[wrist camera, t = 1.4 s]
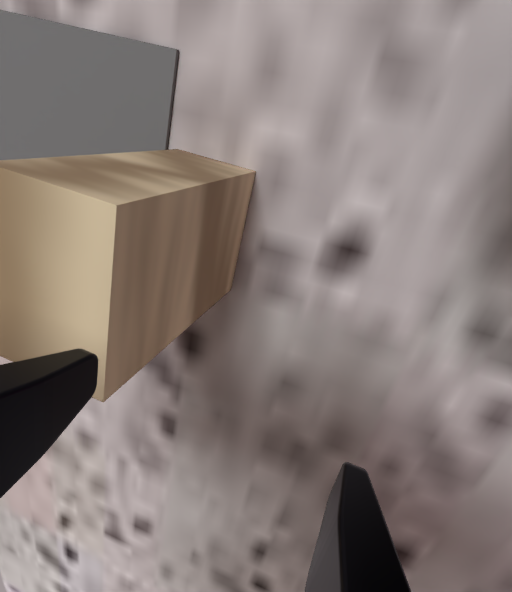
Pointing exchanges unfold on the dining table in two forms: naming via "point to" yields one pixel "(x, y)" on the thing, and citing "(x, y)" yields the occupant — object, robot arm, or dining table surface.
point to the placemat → (80, 91)
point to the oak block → (115, 253)
